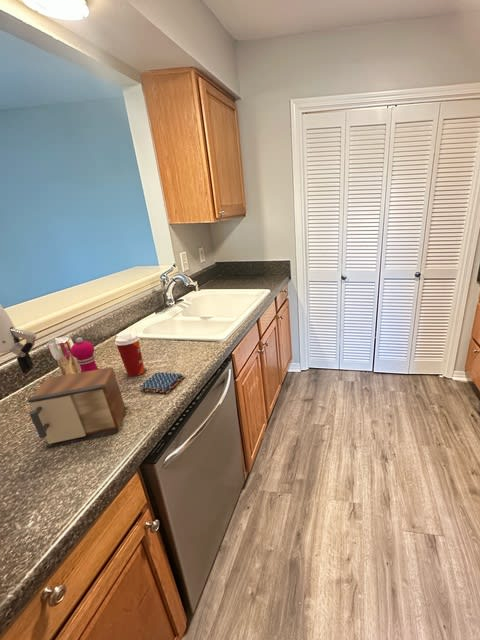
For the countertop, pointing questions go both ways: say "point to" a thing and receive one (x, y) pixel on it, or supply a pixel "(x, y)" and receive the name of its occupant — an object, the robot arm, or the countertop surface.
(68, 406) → the sliding door
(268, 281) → the countertop surface
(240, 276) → the countertop surface
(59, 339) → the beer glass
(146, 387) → the woven mat
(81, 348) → the pepper mill
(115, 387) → the cabinet
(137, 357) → the paper cup
